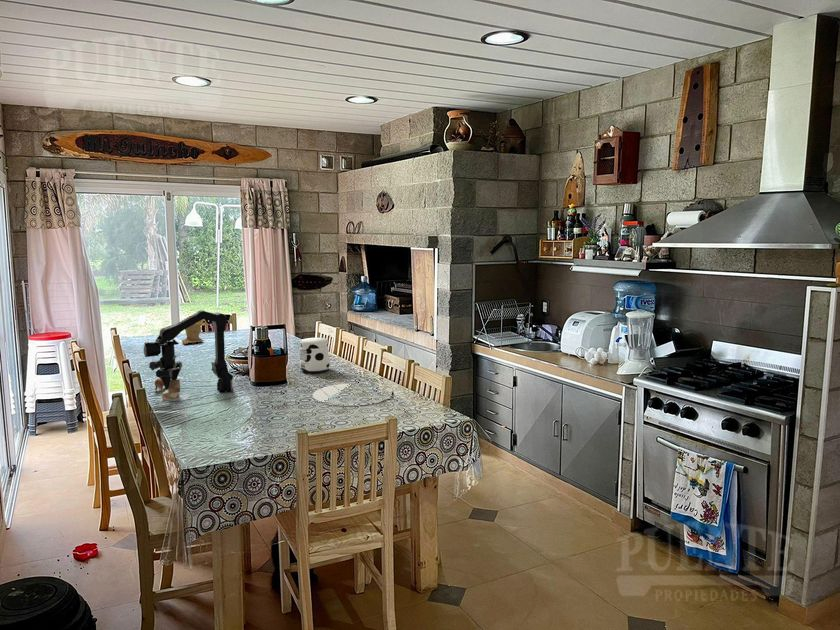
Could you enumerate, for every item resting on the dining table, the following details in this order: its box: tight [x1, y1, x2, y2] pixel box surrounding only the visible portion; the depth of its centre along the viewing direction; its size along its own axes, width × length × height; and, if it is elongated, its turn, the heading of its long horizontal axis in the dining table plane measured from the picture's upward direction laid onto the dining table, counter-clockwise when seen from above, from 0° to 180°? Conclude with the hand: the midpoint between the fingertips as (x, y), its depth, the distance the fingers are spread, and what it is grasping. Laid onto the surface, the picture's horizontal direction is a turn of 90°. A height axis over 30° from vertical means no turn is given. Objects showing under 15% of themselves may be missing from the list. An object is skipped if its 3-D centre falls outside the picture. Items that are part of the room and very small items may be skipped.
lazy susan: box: [312, 381, 392, 402], centre depth 298 cm, size 40×39×3 cm
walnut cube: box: [167, 378, 181, 393], centre depth 290 cm, size 5×5×5 cm
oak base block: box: [161, 389, 181, 400], centre depth 290 cm, size 6×6×3 cm
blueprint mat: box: [158, 394, 191, 402], centre depth 291 cm, size 12×10×1 cm
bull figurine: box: [154, 378, 165, 392], centre depth 306 cm, size 4×13×8 cm, turn 164°
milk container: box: [299, 337, 331, 373], centre depth 347 cm, size 17×17×18 cm
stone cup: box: [181, 322, 205, 345], centre depth 432 cm, size 15×12×15 cm
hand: (170, 386), depth 290 cm, fingers open, 9 cm apart
